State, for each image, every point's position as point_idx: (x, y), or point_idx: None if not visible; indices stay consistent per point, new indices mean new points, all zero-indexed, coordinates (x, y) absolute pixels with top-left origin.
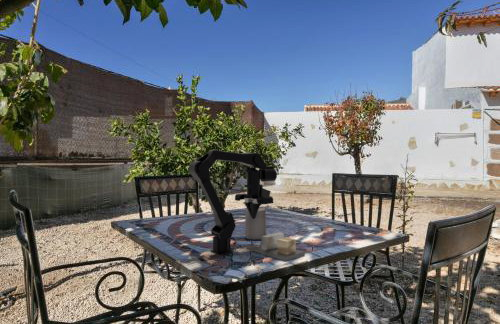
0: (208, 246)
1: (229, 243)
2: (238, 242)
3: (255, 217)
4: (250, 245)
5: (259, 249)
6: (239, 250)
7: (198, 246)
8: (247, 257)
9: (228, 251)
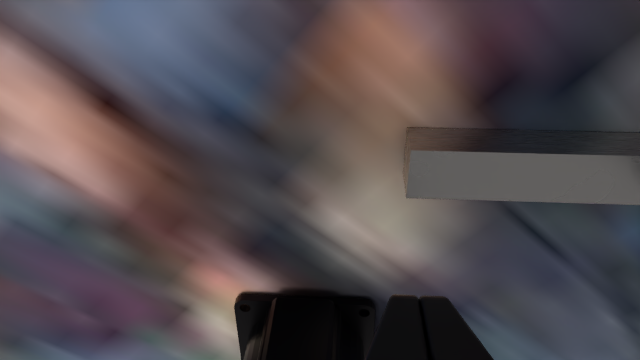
0: (96, 317)
1: (339, 357)
2: (97, 47)
3: (458, 314)
4: (453, 180)
5: (628, 201)
6: (383, 237)
7: (57, 356)
8: (592, 315)
9: (372, 336)
